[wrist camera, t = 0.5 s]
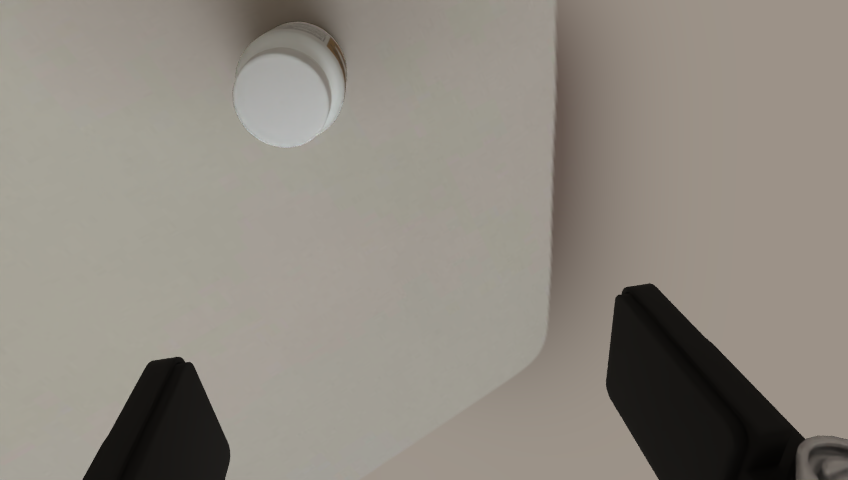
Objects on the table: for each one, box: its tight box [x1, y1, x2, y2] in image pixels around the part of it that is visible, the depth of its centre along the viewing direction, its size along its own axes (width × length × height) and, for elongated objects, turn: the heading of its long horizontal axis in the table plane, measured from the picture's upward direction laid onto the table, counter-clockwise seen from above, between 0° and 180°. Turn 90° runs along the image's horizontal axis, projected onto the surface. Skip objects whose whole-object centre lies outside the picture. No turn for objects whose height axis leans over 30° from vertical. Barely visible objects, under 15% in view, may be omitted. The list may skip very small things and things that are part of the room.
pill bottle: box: [233, 22, 347, 148], centre depth 21 cm, size 4×4×8 cm
